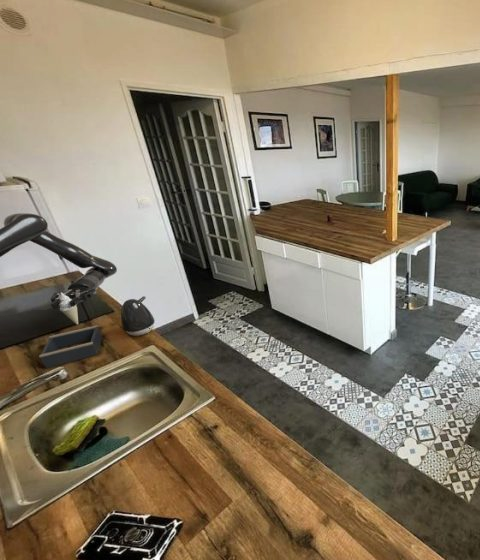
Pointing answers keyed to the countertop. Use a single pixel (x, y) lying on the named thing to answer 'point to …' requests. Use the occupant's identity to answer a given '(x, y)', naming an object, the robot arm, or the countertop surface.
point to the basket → (57, 357)
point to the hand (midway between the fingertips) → (62, 305)
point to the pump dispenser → (136, 317)
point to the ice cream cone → (68, 308)
